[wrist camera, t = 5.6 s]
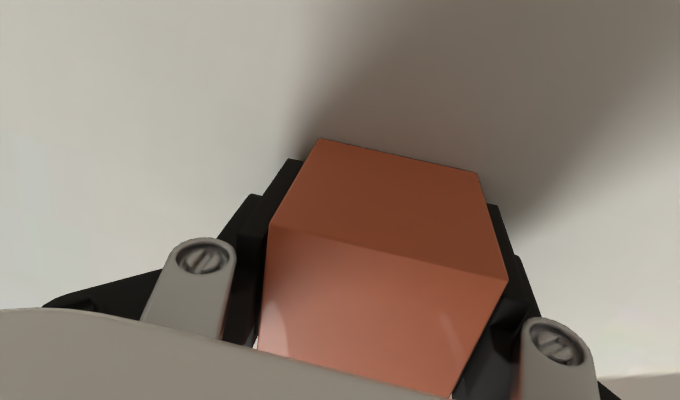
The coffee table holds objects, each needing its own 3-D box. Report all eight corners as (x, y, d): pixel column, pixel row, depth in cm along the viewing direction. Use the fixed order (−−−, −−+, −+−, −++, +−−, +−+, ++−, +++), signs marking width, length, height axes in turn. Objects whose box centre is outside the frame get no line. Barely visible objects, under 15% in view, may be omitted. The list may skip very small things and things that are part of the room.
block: (477, 172, 11) (510, 280, 7) (431, 292, 13) (437, 422, 9) (318, 136, 11) (267, 222, 7) (299, 260, 13) (253, 374, 10)
